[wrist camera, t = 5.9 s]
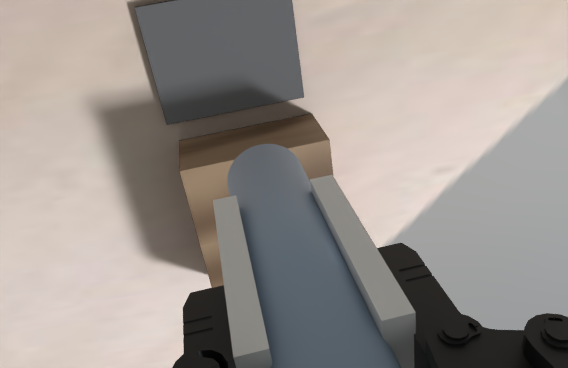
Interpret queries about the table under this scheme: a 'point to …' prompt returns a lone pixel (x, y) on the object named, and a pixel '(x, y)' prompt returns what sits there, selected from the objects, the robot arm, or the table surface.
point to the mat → (221, 55)
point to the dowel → (301, 269)
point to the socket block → (219, 157)
